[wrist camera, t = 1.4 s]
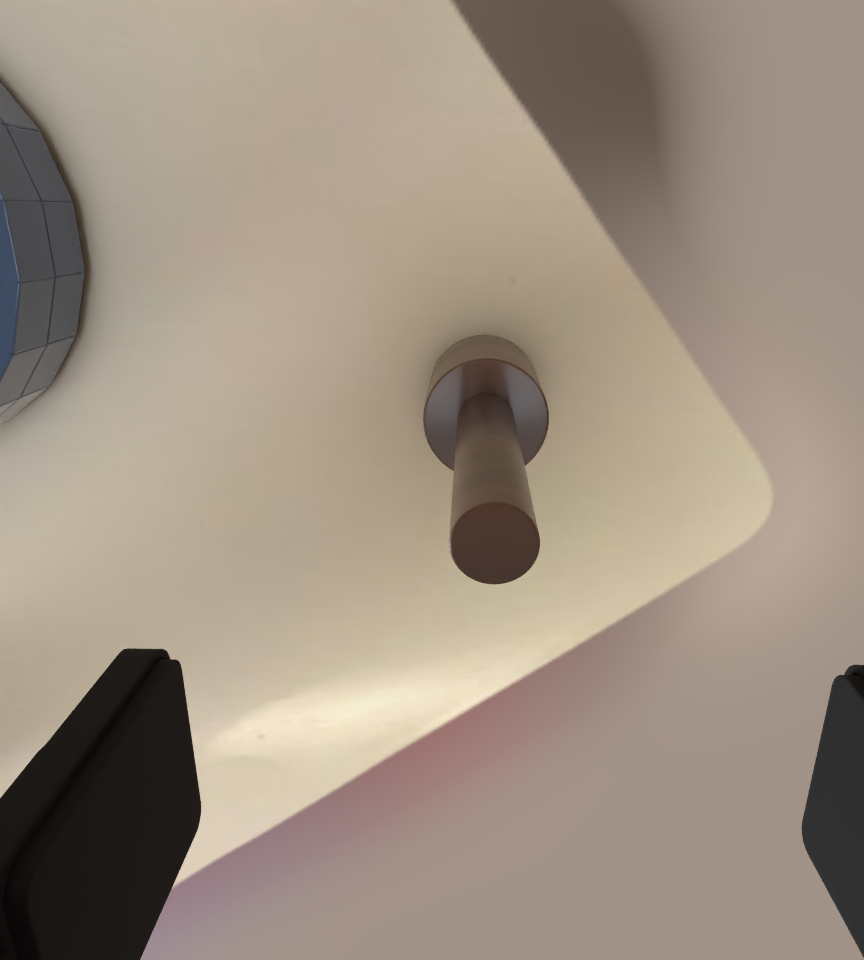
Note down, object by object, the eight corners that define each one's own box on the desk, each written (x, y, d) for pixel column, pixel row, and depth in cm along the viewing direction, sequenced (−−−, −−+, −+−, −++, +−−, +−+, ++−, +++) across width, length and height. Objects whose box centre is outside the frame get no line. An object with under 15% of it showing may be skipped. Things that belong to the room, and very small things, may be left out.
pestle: (430, 334, 29) (392, 448, 15) (539, 335, 29) (603, 451, 15) (430, 438, 31) (397, 628, 17) (534, 439, 30) (588, 633, 16)
